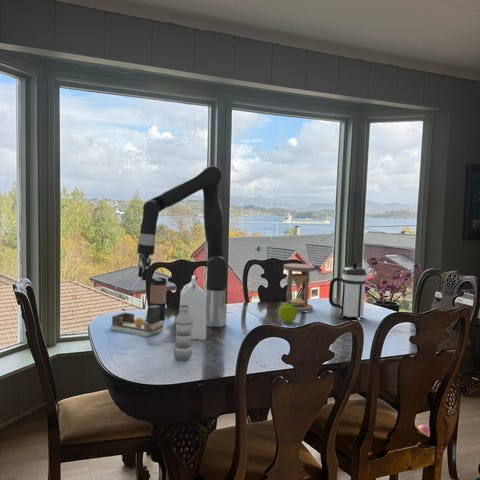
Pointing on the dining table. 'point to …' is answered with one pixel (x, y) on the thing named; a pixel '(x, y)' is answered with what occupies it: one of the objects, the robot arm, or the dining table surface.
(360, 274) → the coffee press
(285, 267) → the hourglass
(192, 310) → the milk
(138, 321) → the ball
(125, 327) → the shallow rectangular tray
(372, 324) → the dining table surface
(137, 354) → the dining table surface
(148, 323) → the kicker
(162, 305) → the travel mug
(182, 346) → the plastic bottle
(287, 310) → the fruit
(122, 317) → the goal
